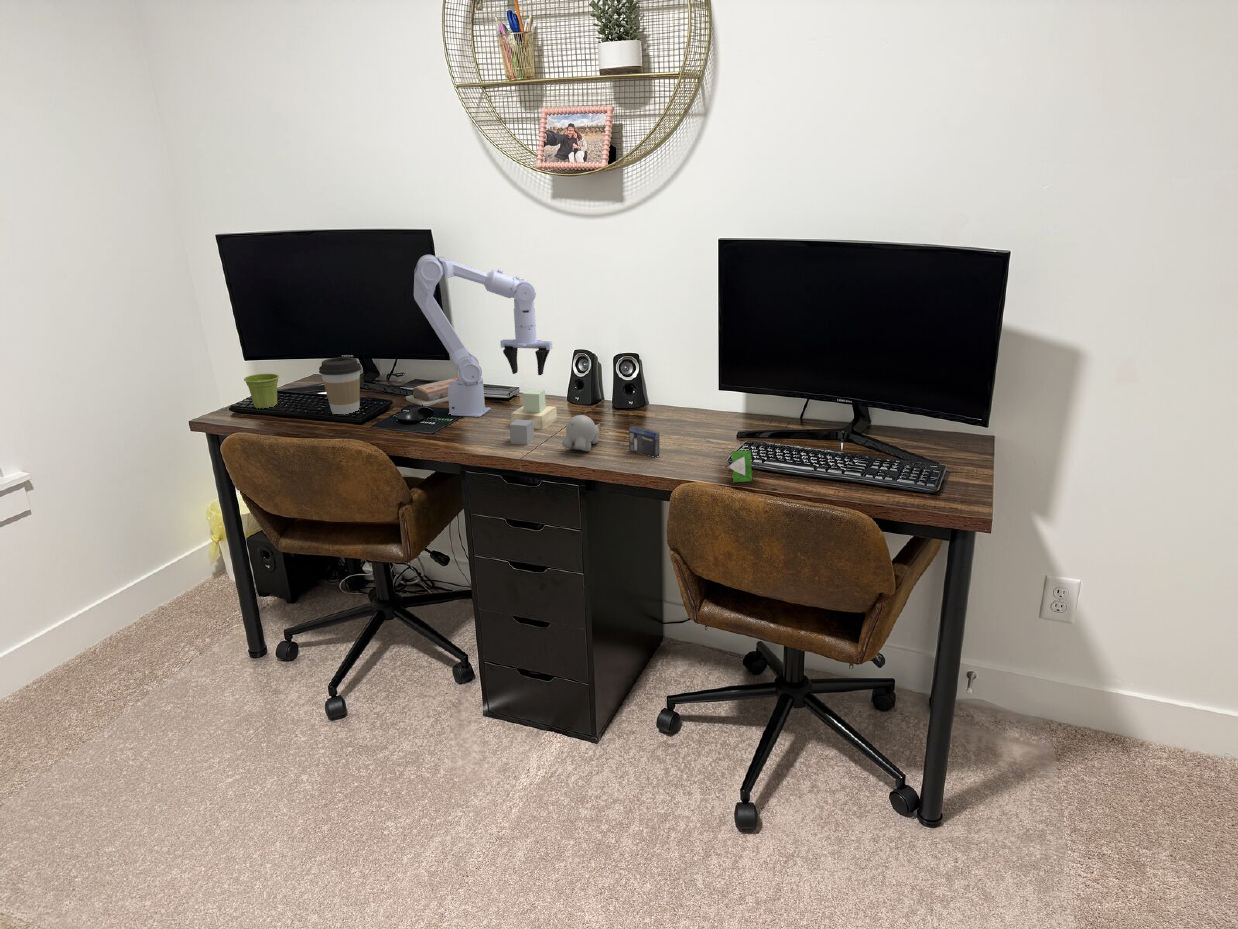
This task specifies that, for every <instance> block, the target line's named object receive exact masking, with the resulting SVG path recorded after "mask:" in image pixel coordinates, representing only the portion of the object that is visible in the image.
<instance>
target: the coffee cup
mask: <svg viewBox="0 0 1238 929" xmlns="http://www.w3.org/2000/svg"><path fill="white" fill-rule="evenodd" d="M318 370H319V371H318V373H319V374H321V378H322V381H323V385H324V390H325V393H326V396H327V399H328V400H327V401H328V403H329V407H330V411H331V413H332V415H333V414H349V413H353V412H355V411H358V410H359V411H360V409H361V408H360V402H361V399H360V393H361V391H360V387H361V385H360V384H361V383H360V382H361V379H360V378H361V376H360V375H361V374H360V373H361V372H360V371H361V370H362V365H361V364H360V363H359V362H358V360H357V359H356V358H355V357H351V356H338V357H333V358H327V359H325V360H322V361H321V364H320V366H319V368H318ZM359 408H360V409H359Z"/></svg>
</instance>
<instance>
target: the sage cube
mask: <svg viewBox="0 0 1238 929" xmlns="http://www.w3.org/2000/svg"><path fill="white" fill-rule="evenodd" d="M522 403H523V405H522V406H524V412H535V413H540V412H541V411H543V410H544V409H545V408H546V406H547V405H546V390H545V389H532V388H529V389H527V390H525V391H524V392H522Z"/></svg>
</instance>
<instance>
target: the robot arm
mask: <svg viewBox="0 0 1238 929" xmlns="http://www.w3.org/2000/svg"><path fill="white" fill-rule="evenodd" d="M442 277H444V279H449V278H452V277H458V278H461V279H464V280H468V281H470V282H474V283H478V284H480V285H483V286H484V288H485V289H486V291H487V292H490V293H492V294H496V295H498V296H501V297H504V298H506V299H512V298H513V304H514V305H513V306H514V308H513V319H514V320H513V322H514V335H515V338H514V339H513V338H512V339H510V338H509V339H501V340H500V348H501V349H503V350H502V352H503V354H504V356H505V357H506V359H507V361H508V364H509V366H510V369H511V373H512V375H516V374H517V373H518V369H519V366H518V349H537V350H536V351H535V352H534V353H535V357H536V362H537V375H538V376H542V375H543V374H544V369H545V364H546V361H547V358H548V355H549V353H550V351H551V350H552V349H553V342H552V341H548V340H542V339H541V340H540V339H537V329H536V328H537V325H536V308H535V299H536V297H537V292H536V290H535V287H534V286H533V285H532V284H531V283H530V282H529V281H528V280H525V279H524V278H520V276H511V275H508V274H505V273H503V270H501V269H497V271H496V270H491V271H489V272H485V271H482V270H480V269H477V268H475V267H472V266H469V265H467V264H463V263H461V262H459V261H455V260H454V259H449V258H446V257H441V256H438V257H437V256H436V255H432V254H424V255H423V256H421V257H420V258H419V259H418V261H417V263H416V266H415V268H414V279H413V280H414V281H413V282H414V283H413V298H414V301H415V302H416V304H417V306H418V307H419V308H420V310H421V312H422V313H423V315H424V316H425V318H426V319H427V321H428V322H429V324H430V326H431V328H432V329H433V330H434V332H435V334H436V335H437V337H438V338H439V340H440V341H441V343H442V345H443V346H444V348H445V349H446V351H447V353H448V354H449V356H450V358H451V359H452V361H453V363H454V365H455V367H456V371H457V373H458V379H457V381H452V382H451V383H450V384H449V387H448V400H449V401H448V409H449V412H448V415H449V414H451V415H450V416H457V417H458V416H460V417H474V418H475V417H476V418H480V417H481V416H483V415H484V414H486V413H488V412H490V411H491V409H492V408H491V407H488V406H487V407H486V405H485V404H486V403H485V402H486V401H485V390H484V379H483V378H482V376H483V374H482V373H483V371H482V367H481V366H480V363H479V360H478V359H477V357H476V356H474V355H473V354H471V353H470V352H469V351H468V350H469V349H467V347H466V346H465V345H464V343H463V342H462V340H461V338H460V337H459V334H457V332H456V330H455V329H454V326H452V324H451V323H450V321H449V319H448V318H447V315H445V313H444V311H443V309H442V308H441V306H440V304H438V302H437V300H436V299H435V297H434V295H435V291H436V286H437V285H438V284H439V282H440V280H441V279H442Z"/></svg>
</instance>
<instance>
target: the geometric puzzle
mask: <svg viewBox="0 0 1238 929" xmlns="http://www.w3.org/2000/svg"><path fill="white" fill-rule="evenodd" d="M731 458H732V459H731ZM729 459H731V460H732V461H731V462H730V463H728V461H729V460H727V461H726V463H727V464H726V466H724V468H725V469H726V471H728V470H729V471H731V472H732V473H731V472H729V475H730V478H731V481H732V483H740V482H742V483H743V482H753V480H754V479H753V478H754V477H753V476H754V475H755V473H757V472H758V470H756V468H757V469H758V467H759V466H760V464H758V462H757V461H754V454H753V452H752V449H750V450H736V451H735V450H731V452H730V454H729ZM752 459H753V460H752ZM752 462H753V463H752ZM756 462H757V463H756ZM727 469H728V470H727ZM752 469H753V470H752ZM755 470H756V471H755ZM753 471H755V472H753ZM752 473H753V474H752Z"/></svg>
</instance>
